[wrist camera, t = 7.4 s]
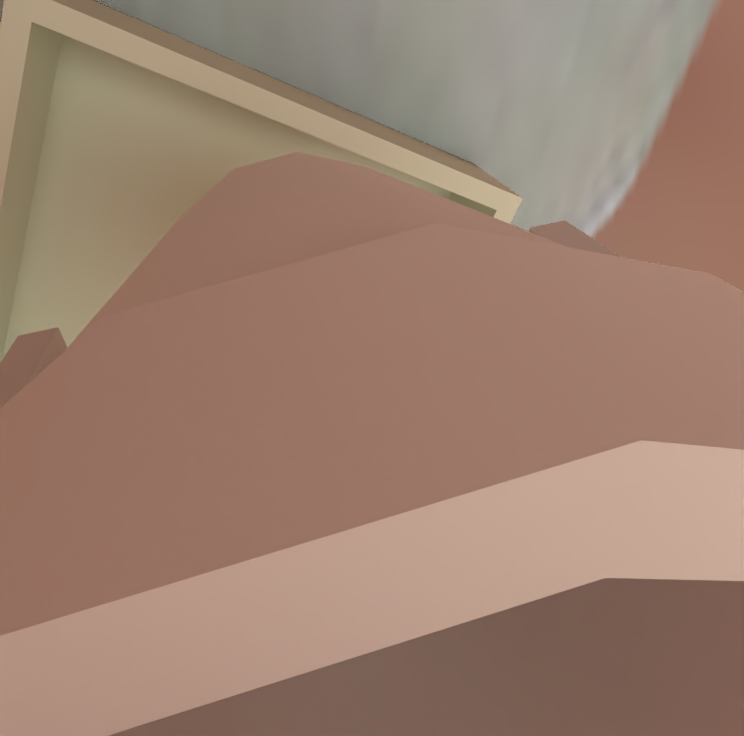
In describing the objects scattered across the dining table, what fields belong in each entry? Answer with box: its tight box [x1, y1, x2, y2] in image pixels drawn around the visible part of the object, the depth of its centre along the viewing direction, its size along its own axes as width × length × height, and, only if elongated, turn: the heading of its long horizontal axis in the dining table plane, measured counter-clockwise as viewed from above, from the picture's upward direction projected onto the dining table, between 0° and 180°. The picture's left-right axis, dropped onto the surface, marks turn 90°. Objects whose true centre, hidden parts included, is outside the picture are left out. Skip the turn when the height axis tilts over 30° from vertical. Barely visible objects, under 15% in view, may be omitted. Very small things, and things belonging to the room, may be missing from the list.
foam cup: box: [0, 152, 744, 736], centre depth 10 cm, size 10×9×13 cm
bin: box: [0, 0, 523, 363], centre depth 28 cm, size 19×19×6 cm
